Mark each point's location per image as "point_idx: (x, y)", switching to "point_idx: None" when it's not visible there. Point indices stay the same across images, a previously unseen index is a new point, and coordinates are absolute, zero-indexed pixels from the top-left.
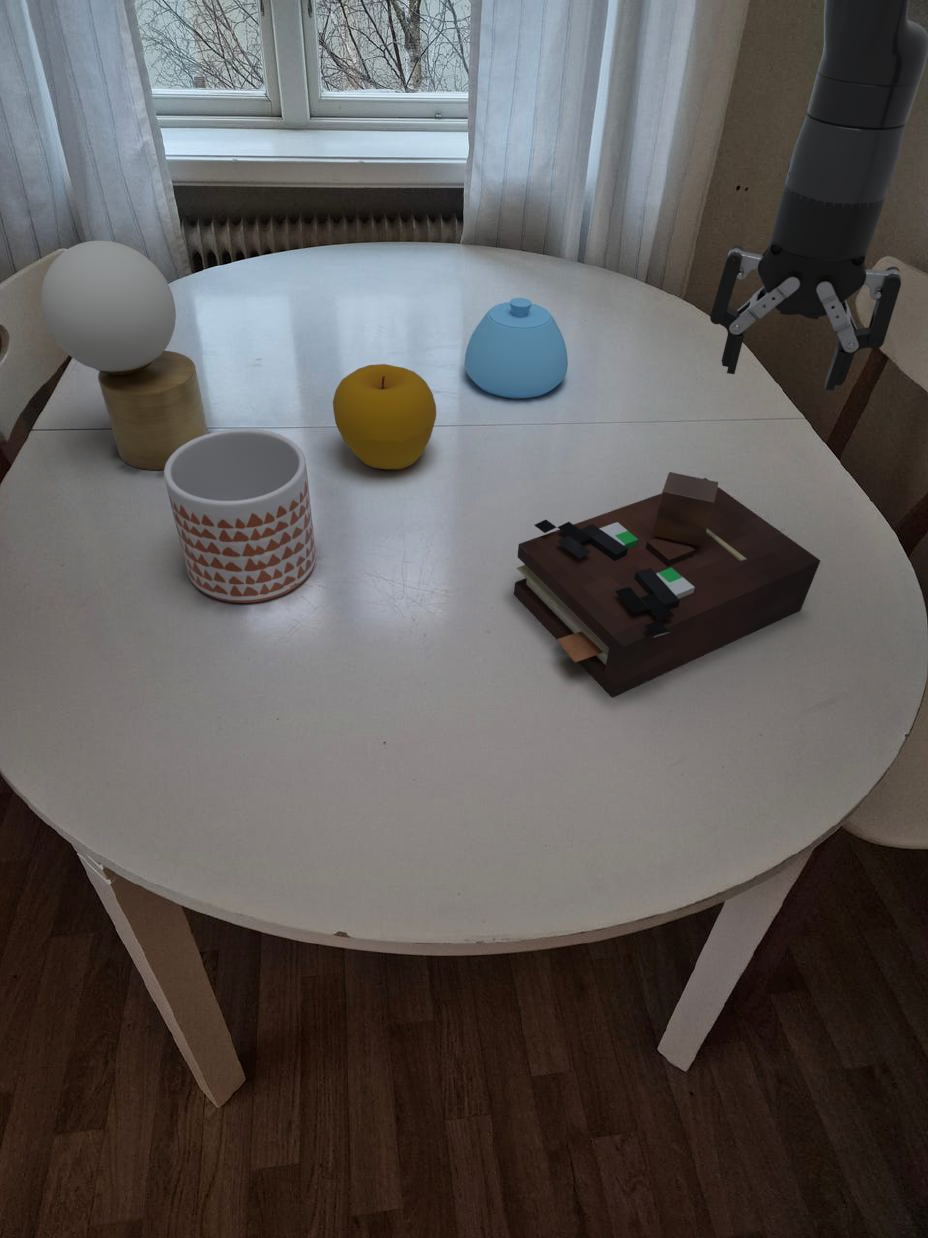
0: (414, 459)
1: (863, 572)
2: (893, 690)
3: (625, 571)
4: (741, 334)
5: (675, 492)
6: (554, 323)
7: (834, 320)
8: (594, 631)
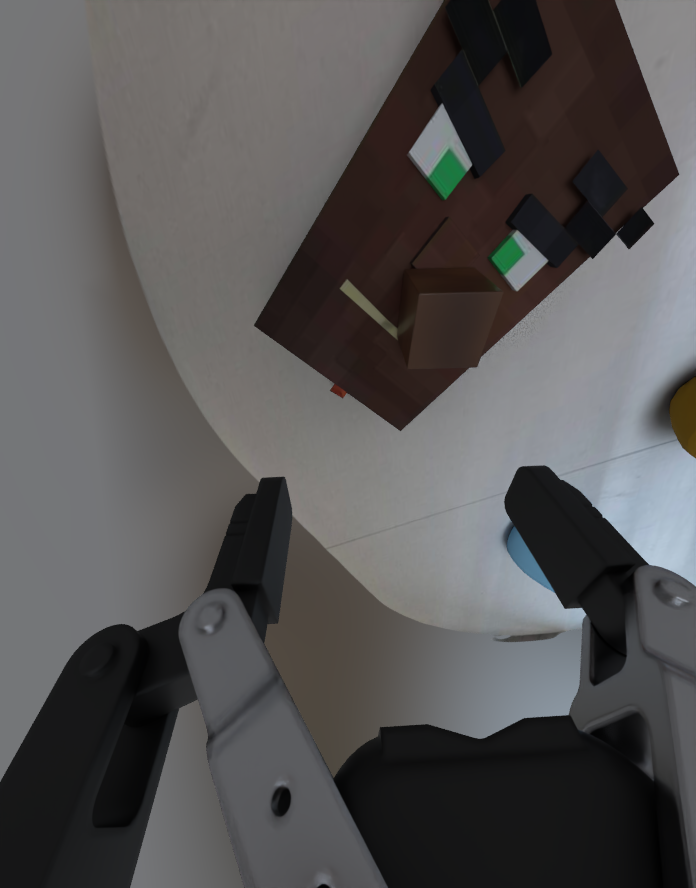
0: (690, 386)
1: (230, 393)
2: (137, 193)
3: (511, 169)
4: (606, 573)
5: (481, 297)
6: (544, 579)
7: (293, 763)
8: None
